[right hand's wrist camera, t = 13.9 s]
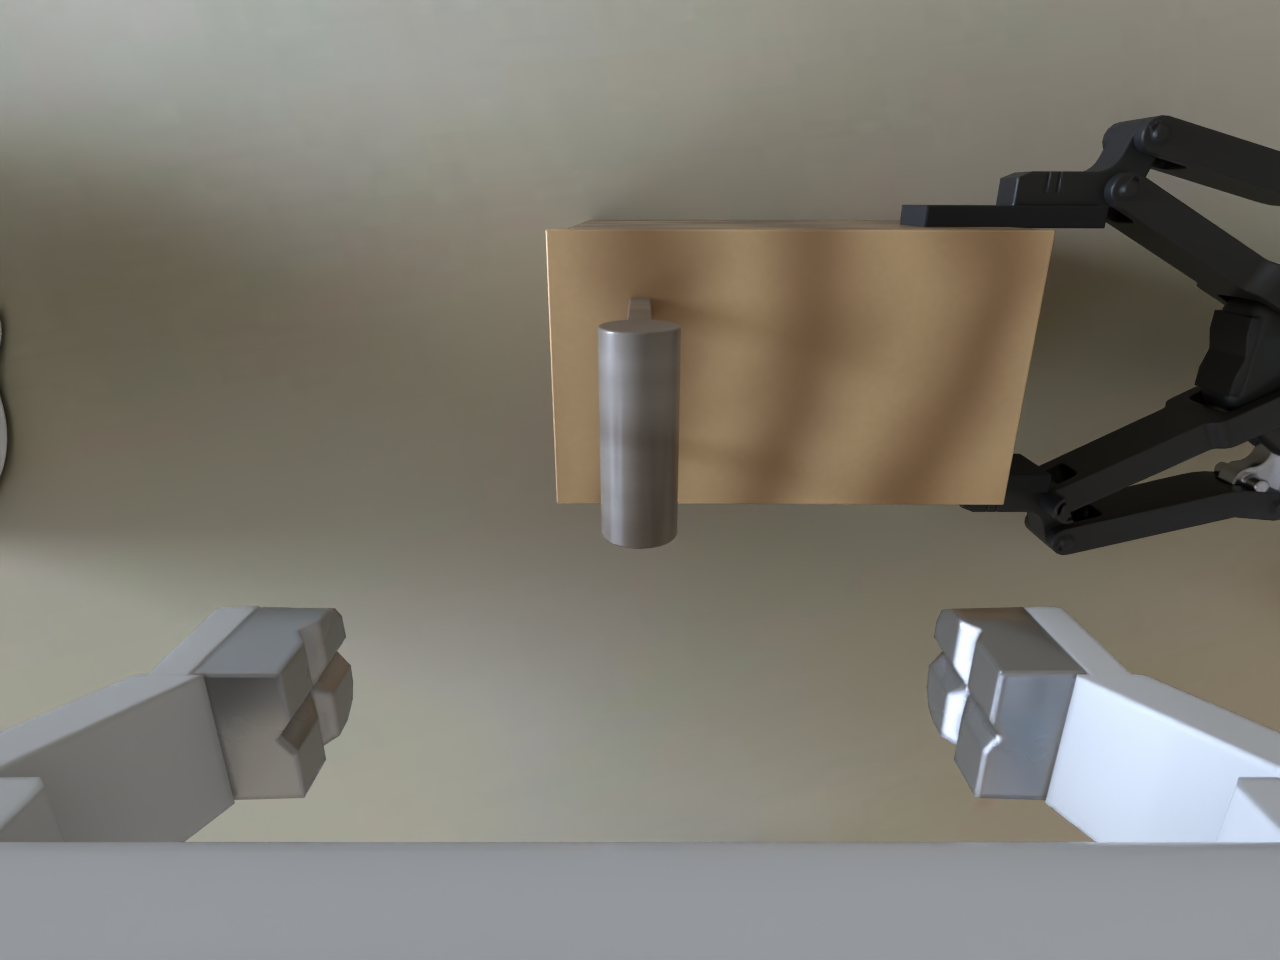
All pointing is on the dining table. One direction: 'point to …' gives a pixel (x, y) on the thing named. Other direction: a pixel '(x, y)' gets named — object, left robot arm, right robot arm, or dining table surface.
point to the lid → (787, 367)
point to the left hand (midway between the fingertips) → (895, 352)
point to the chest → (755, 225)
